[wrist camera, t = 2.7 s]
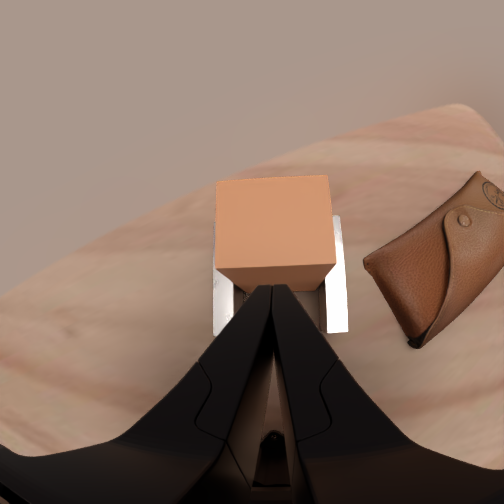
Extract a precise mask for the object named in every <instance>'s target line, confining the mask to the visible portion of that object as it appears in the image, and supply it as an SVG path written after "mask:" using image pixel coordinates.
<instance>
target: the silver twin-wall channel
mask: <svg viewBox="0 0 504 504" xmlns="http://www.w3.org/2000/svg"><path fill="white" fill-rule="evenodd" d="M215 226H216V222H214V253H213V336H218V334H219V333H220V332H221V331H222V329H223V328H224V327H225V326H226V324H227V323H228V322H229V321H230V319H231V318H232V317H233V316H234V314H235V313H236V312H237V310H238V309H239V308H240V307H241V305H242V304H243V303H244V293H243V290H242V289H241V288H240V287H238V286H237V285H236V284H234V283H233V282H232V281H230V280H229V279H228V278H227V277H225V276H224V275H223V274H221V273H220V272H219V271H217V270H216V269H215ZM333 226H334V236H335V246H336V258H337V264H336V265H335V266H334V268H333V269H332V270H331V271H330V273H329V274H328V275H327V276H326V278H325V279H324V280H323V281H322V282H321V284H320V285H319V286H318V288H319V311H320V331H323V332H327V333H337V332H348V316H347V296H346V280H345V266H344V254H343V243H342V233H341V224H340V216H333Z"/></svg>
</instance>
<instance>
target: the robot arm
mask: <svg viewBox="0 0 504 504" xmlns="http://www.w3.org/2000/svg"><path fill="white" fill-rule="evenodd" d="M273 359H275V368H276V376H277V383H278V391H279V398H280V406H281V414H282V421H283V429H284V434H282V433H280V432H278V431H276V430H272V431H270V432H269V433H268V434H267V435H266V436H265V438H264V439H263V440H262V441H261V435H262V429H263V424H264V418H265V412H266V406H267V399H268V393H269V387H270V380H271V374H272V367H273ZM272 435H276V436H277V438H275V439H273V438H271V436H272ZM260 441H261V442H260ZM0 504H504V469H502V470H492V469H487V468H482V467H479V466H476V465H473V464H469V463H466V462H463V461H460V460H457V459H454V458H451V457H449V456H446V455H443V454H440V453H438V452H435V451H432V450H430V449H427V448H424V447H422V446H420V445H418V444H417V443H415V442H413V441H412V440H411V439H409V438H408V437H407V436H406V435H405V434H404V433H403V432H402V431H401V430H400V429H399V428H398V427H397V426H396V425H395V424H394V423H393V422H392V421H391V420H390V419H389V418H388V417H387V416H386V414H385V413H384V412H383V411H382V410H381V409H380V408H379V407H378V406H377V405H376V404H375V403H374V402H373V401H372V399H371V398H370V397H369V396H368V395H367V394H366V393H365V392H364V390H363V389H362V388H361V387H360V386H359V385H358V383H357V382H356V381H355V379H354V378H353V377H352V375H351V374H350V373H349V371H348V370H347V369H346V367H345V366H344V364H343V363H342V361H341V360H340V359H339V357H338V356H337V354H336V353H335V352H334V350H333V349H332V347H331V346H330V344H329V343H328V342H327V340H326V339H325V337H324V336H323V334H322V333H321V331H320V330H319V329H318V327H317V326H316V324H315V323H314V321H313V320H312V319H311V317H310V316H309V314H308V313H307V311H306V310H305V309H304V307H303V306H302V304H301V303H300V301H299V300H298V299H297V297H296V296H295V294H294V293H293V291H292V290H291V289H290V287H289V286H288V285H287V284H274V285H273V286H272V285H271V284H260V285H257V286H256V288H255V289H254V290H253V291H252V293H251V294H250V295H249V296H248V298H247V299H246V300H245V302H244V303H243V304H242V305H241V307H240V308H239V309H238V310H237V312H236V313H235V314H234V316H233V317H232V318H231V319H230V321H229V322H228V323H227V324H226V326H225V327H224V328H223V329H222V331H221V332H220V333H219V334H218V336H217V337H216V338H215V339H214V341H213V342H212V343H211V344H210V346H209V347H208V348H207V349H206V350H205V352H204V353H203V354H202V355H201V357H200V358H199V359H198V362H196V363H195V364H194V365H193V366H192V367H191V369H190V370H189V371H188V372H187V373H186V375H185V376H184V377H183V378H182V379H181V380H180V381H179V383H178V384H177V385H176V386H175V387H174V388H173V389H172V390H171V391H170V392H169V393H168V394H167V395H166V396H165V397H164V398H163V399H162V400H160V401H159V402H158V403H157V404H156V405H155V406H154V407H153V408H152V409H151V410H150V411H149V412H147V413H146V414H145V415H144V416H143V417H142V418H141V419H140V420H139V421H138V422H136V423H135V424H134V425H133V426H132V427H131V428H130V429H128V430H127V431H126V432H125V433H123V434H122V435H120V436H118V437H116V438H115V439H113V440H110V441H108V442H104V443H101V444H97V445H93V446H89V447H84V448H80V449H76V450H71V451H66V452H61V453H56V454H51V455H45V456H36V457H30V456H22V455H18V454H16V453H14V452H12V451H11V450H9V449H8V448H6V447H5V446H3V445H1V444H0Z"/></svg>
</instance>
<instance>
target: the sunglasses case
mask: <svg viewBox="0 0 504 504" xmlns="http://www.w3.org/2000/svg"><path fill="white" fill-rule="evenodd" d="M363 265H364V268H365V270H367V271H368V273H369V274H370V275H371V276H372V277H373V279H374V280H375V282H376V284H377V286H378V287H379V289H380V291H381V292H382V294H383V295H384V298H385V299H386V301H387V302H388V304H389V306H390V308H391V309H392V312H393V313H394V315H395V317H396V319H397V320H398V322H399V324H400V325H401V327H402V329H403V331H404V333H405V334H406V336H407V337H408V338H409V341H408V342H407V343H408V344H409V345H410V346H411V347H412V348H415V349H420V348H422V347H423V346H424V345H425V344H426V343H428V342H429V341H430V340H431V339H432V338H433V337H435V336H436V335H437V334H438V333H440V332H441V331H442V330H443V329H444V328H445V327H446V326H448V325H449V324H450V323H451V322H452V321H453V320H455V318H456V317H458V316H459V315H460V314H461V313H462V312H463V311H464V310H465V309H466V308H467V307H468V306H469V305H470V304H471V303H472V302H473V301H474V300H475V298H476V297H477V296H478V295H479V294H480V293H481V292H482V291H483V290H484V288H485V287H486V286H487V285H488V284H489V283H490V282H491V281H492V279H493V278H494V277H495V276H496V275H497V274H498V272H499V271H500V270H501V269H502V267H503V266H504V192H503V191H501V190H500V189H499V188H498V187H497V186H495V185H494V184H493V183H491V182H490V181H489V180H487V179H486V178H484V177H483V176H482V175H481V172H480V171H477V172H475V173H474V175H473V176H472V177H471V178H470V179H469V180H468V181H467V183H466V184H465V185H464V186H463V187H462V188H461V189H460V190H459V191H458V192H457V193H456V194H454V195H453V196H452V197H451V198H450V199H449V200H448V201H446V202H445V203H444V204H443V205H441V206H440V207H439V208H437V209H436V210H435V211H434V212H432V213H431V214H430V215H429V216H428V217H426V218H425V219H424V220H422V221H421V222H420V223H418V224H417V225H416V226H414V227H413V228H412V229H410V230H408V231H407V232H406V233H404V234H403V235H401V236H399V237H398V238H396V239H395V240H393V241H391V242H390V243H388V244H386V245H385V246H383V247H381V248H380V249H378V250H376V251H375V252H373V253H371V254H370V255H368V256H367V257H365V258H364V259H363Z"/></svg>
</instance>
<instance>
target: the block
mask: <svg viewBox="0 0 504 504" xmlns="http://www.w3.org/2000/svg"><path fill="white" fill-rule="evenodd" d="M336 264H337V258H336V246H335V236H334V226H333V216H332V207H331V199H330V191H329V183H328V176H327V175H316V176H290V177H271V178H255V179H241V180H229V181H217V189H216V226H215V269H216V270H217V271H219V272H220V273H221V274H223V275H224V276H225V277H227V278H228V279H229V280H230V281H232V282H233V283H234V284H236V285H237V286H238V287H240V288H241V289H242V290H244V291H245V292H246V293H252V291H253V290H254V289H255V288H256V286H257V285H260V284H271V285H272V286H273V285H274V284H287V285H288V286H289V287H290V289H291V290H292V291H293V292H294V291H315V290H316V289H317V287H318V286H319V285H320V284H321V282H322V281H323V280H324V279H325V278H326V276H327V275H328V274H329V273H330V271H331V270H332V269H333V268H334V266H335V265H336Z"/></svg>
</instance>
